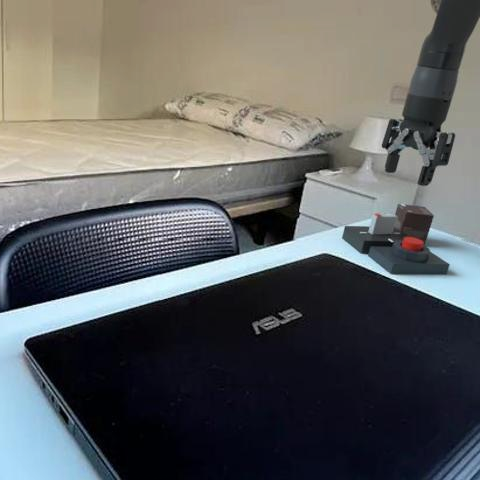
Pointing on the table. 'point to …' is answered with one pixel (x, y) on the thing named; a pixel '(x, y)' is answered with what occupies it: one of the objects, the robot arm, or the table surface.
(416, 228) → the box
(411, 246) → the power button
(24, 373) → the table surface
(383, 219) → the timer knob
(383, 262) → the button block
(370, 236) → the panel
